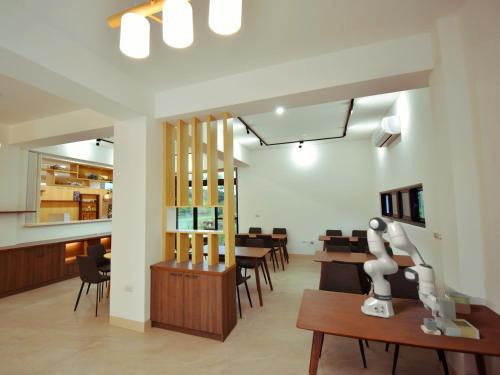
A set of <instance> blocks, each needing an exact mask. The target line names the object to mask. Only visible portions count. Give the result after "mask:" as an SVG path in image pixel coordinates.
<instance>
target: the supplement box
mask: <svg viewBox="0 0 500 375" xmlns="http://www.w3.org/2000/svg"><path fill="white" fill-rule="evenodd" d="M437 298H438V299H439V303H440V311H438V317H443V318H454V319H457V314H456V313H457V312H455V302H454V301H452V300H451V299H450V297H437Z"/></svg>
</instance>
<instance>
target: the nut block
mask: <svg viewBox="0 0 500 375" xmlns="http://www.w3.org/2000/svg"><path fill="white" fill-rule="evenodd" d="M423 325H424V326H425V327H426V328H427V330H435V331H437V329H438V327H437V324H436V322H435V319H434V318H430V317H429V318H427V317H423Z"/></svg>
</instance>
